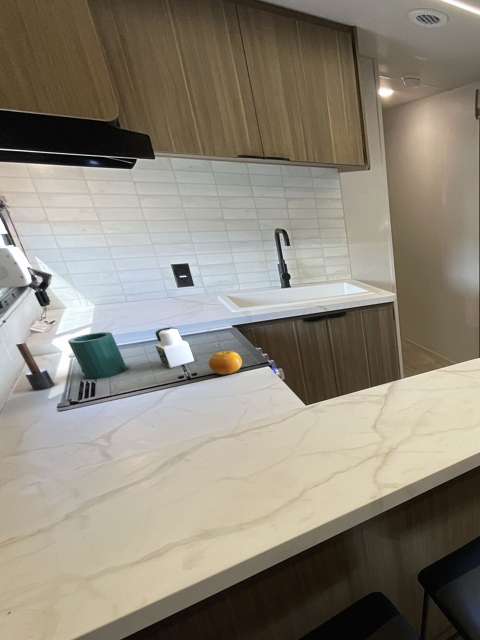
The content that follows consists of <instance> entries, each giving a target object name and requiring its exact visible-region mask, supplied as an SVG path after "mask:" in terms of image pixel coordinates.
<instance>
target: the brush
mask: <svg viewBox="0 0 480 640" xmlns="http://www.w3.org/2000/svg"><path fill="white" fill-rule="evenodd" d="M15 346H16V347H17V350H18V351H19V353H20V355H21V357H22V358H23V360H24V362H25V364H26V367H27V368H28V369H29V371H28V372H25V373H24V375H25V377H26V379H27V381H28V383H29V384H30V386H31V388H32V390H33V391H41V390H46V389H49V388H52V387H53V386H54V385H55V383H54V381H53V380H52V377H51V375H50V373H49V372H48V370H47V369H46V368H40V367H39V366H38V364H37V363H36V360H35V358H34V356H33V354H32V353H31V352H30V351H31V350H30V349H29V347H28V346H27V344H26V342H25V341H22V342H17V343H15Z"/></svg>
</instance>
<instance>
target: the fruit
mask: <svg viewBox="0 0 480 640" xmlns="http://www.w3.org/2000/svg"><path fill="white" fill-rule="evenodd" d="M242 364H243V360H242V357H241V356H240V354H239V353H237V352H235V351H230V350H224V351H218V352H215V353H214V354H212V355H211V356H210V358H209V360H208V366H209V368H210V370H211V371H212V372H214V373H215V374H218V375H231V374H234V373H236V372H238V370H240V369H241V367H242Z"/></svg>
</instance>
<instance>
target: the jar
mask: <svg viewBox="0 0 480 640" xmlns="http://www.w3.org/2000/svg"><path fill="white" fill-rule="evenodd" d="M67 343H68V344H69V346H70V348H71V351H72V353H73V355H74V357H75V359H76V361H77V363H78V365H79V367H80V369H81V371H82V373H83V375H84V377H85V379H102V378H107V377H110V376H111V377H112V376H115V375H118V374H121V373H123V372H124V371H126V370H127V366H126V363H125V361H124V359H123V356H122V354H121V351H120V349H119V347H118V345H117V342H116V340H115V337H114V336H113V334H112V332H108V331H106V332H105V331H102V332H93V333H86V334H82V335H78V336H74V337H72V338H70V339H69V340H67Z"/></svg>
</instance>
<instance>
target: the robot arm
mask: <svg viewBox="0 0 480 640" xmlns="http://www.w3.org/2000/svg"><path fill="white" fill-rule="evenodd" d="M38 277H40V278H41V280H42V281H41V282H39V281H38ZM51 281H52V274H51V273H50V272H45V271H42V270H38V269H35V268H33V267H32V265H31V263H30V261H29V260H28V259H27V257H26V256H25V254H24V253H23V251H22V250H20V248H19V247H18V246H15V245H14V243H13V241H12V239H11V237H10V235H9V233H8V231H7V229H6V226H5V224H4V222H3V220H2V217H0V289H4V288H6V289H7V288H21V287H26V286H27V287H28V288H30V289H32V290H33V291H35V292H34V296H35V298H36V300H37V302H38V304H39V307H42V308H44V307H47V306H50V305H51V300H50V297H49V295H48V293H47V290H48V288H49V286H50V285H51ZM3 308H4V305H3V304H2V302H1V300H0V310H1V309H3Z"/></svg>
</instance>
